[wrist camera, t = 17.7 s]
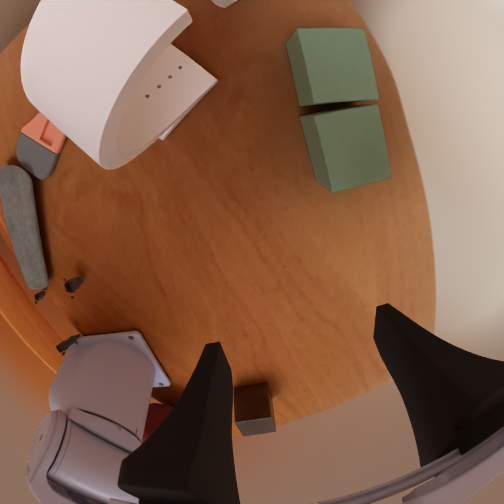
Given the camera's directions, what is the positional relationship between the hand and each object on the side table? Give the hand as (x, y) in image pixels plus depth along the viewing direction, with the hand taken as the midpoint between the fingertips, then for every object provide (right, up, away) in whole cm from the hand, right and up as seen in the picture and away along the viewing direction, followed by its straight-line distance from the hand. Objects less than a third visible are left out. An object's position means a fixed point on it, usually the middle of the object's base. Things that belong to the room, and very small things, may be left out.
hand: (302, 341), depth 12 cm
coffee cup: (-8, +14, +3) cm, 16 cm away
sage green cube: (+3, +11, +5) cm, 13 cm away
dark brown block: (-2, -12, +16) cm, 20 cm away
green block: (+2, +16, +3) cm, 16 cm away
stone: (-19, +5, +5) cm, 20 cm away
